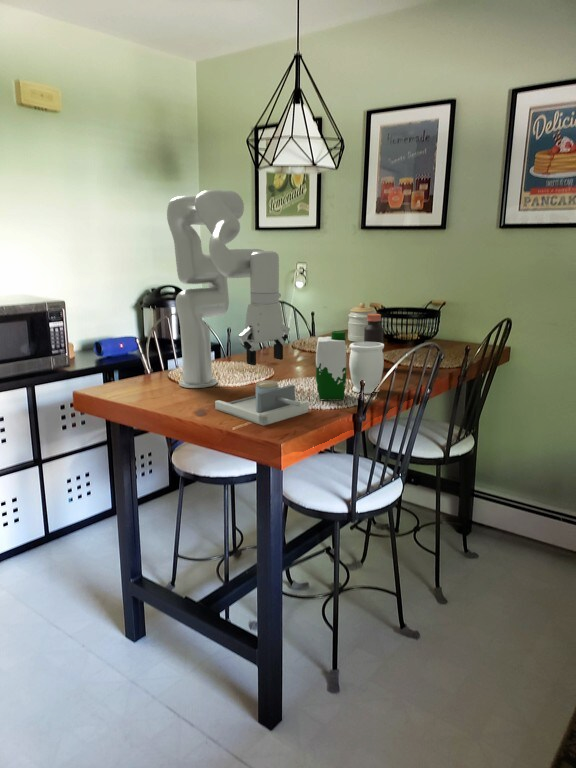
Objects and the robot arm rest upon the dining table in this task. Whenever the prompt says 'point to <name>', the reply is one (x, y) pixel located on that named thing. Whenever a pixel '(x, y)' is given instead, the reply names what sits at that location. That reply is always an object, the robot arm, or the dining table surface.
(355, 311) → the jar
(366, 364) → the jar
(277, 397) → the pusher
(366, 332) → the bottle
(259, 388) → the glazed jar
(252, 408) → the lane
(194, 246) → the robot arm
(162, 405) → the dining table surface
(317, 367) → the milk carton
